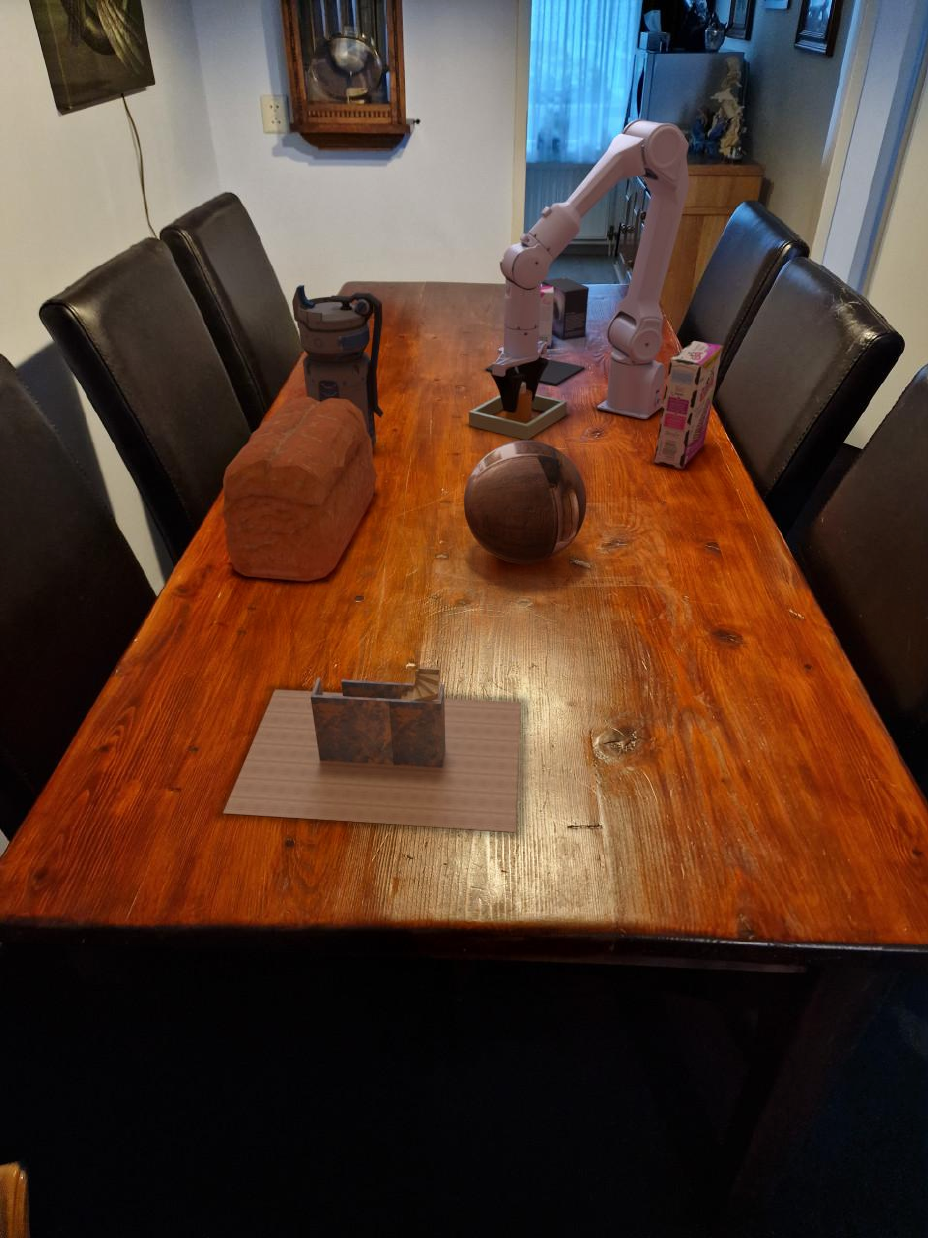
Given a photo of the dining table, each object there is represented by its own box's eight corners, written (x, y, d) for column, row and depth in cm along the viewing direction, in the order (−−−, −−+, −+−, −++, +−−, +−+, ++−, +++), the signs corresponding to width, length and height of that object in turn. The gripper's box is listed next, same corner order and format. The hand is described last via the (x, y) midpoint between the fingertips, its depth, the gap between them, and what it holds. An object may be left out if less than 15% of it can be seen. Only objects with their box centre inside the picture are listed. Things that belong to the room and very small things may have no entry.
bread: (222, 576, 101) (198, 463, 92) (292, 482, 122) (278, 383, 113) (331, 585, 99) (318, 471, 90) (383, 488, 120) (376, 388, 112)
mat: (584, 368, 164) (584, 366, 164) (555, 385, 156) (555, 383, 156) (516, 354, 172) (516, 352, 171) (485, 370, 163) (485, 368, 163)
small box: (537, 327, 188) (540, 279, 182) (562, 324, 190) (565, 276, 184) (561, 339, 180) (564, 290, 174) (586, 336, 182) (590, 286, 176)
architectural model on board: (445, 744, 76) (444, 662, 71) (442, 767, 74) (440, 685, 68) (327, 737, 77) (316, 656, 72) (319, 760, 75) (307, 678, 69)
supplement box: (551, 340, 180) (554, 285, 173) (550, 348, 175) (554, 292, 168) (524, 339, 180) (527, 285, 174) (523, 347, 175) (526, 292, 169)
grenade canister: (382, 466, 127) (370, 298, 112) (300, 460, 129) (279, 294, 114) (397, 440, 135) (389, 280, 120) (320, 435, 137) (303, 277, 122)
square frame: (566, 414, 144) (567, 401, 142) (527, 440, 135) (527, 426, 133) (510, 401, 149) (510, 388, 148) (468, 425, 140) (468, 411, 138)
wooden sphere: (447, 538, 108) (446, 431, 99) (550, 519, 112) (556, 414, 104) (490, 597, 97) (492, 481, 88) (602, 573, 101) (615, 461, 92)
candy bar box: (683, 471, 125) (701, 364, 115) (652, 464, 127) (667, 358, 118) (706, 445, 133) (724, 343, 123) (676, 439, 135) (692, 338, 125)
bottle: (535, 418, 142) (537, 382, 139) (522, 427, 139) (524, 389, 136) (513, 413, 144) (515, 377, 141) (500, 421, 141) (501, 384, 138)
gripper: (523, 311, 139) (520, 389, 147) (476, 331, 129) (476, 413, 137) (559, 317, 136) (554, 396, 144) (514, 339, 126) (512, 422, 134)
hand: (518, 405), depth 140 cm, fingers open, 5 cm apart
